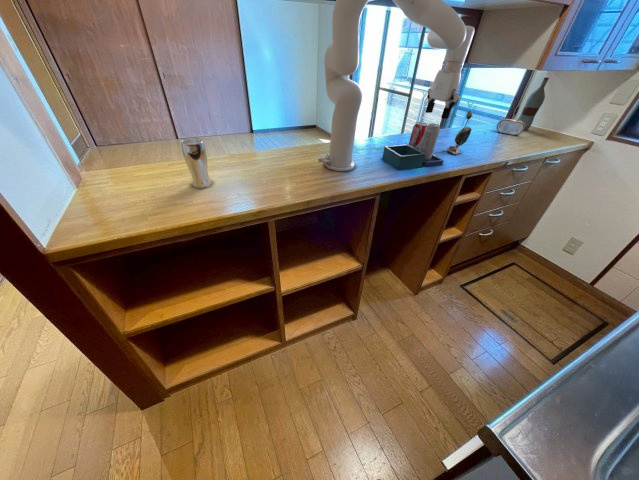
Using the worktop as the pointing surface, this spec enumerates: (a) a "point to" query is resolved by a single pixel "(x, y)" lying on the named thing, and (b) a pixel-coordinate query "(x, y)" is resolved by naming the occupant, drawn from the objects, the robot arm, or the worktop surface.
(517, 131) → the tin
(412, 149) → the basket
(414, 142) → the soda can
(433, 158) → the tray
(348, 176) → the worktop surface
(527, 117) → the bottle
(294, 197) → the worktop surface
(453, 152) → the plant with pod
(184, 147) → the beer glass
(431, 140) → the energy drink can
